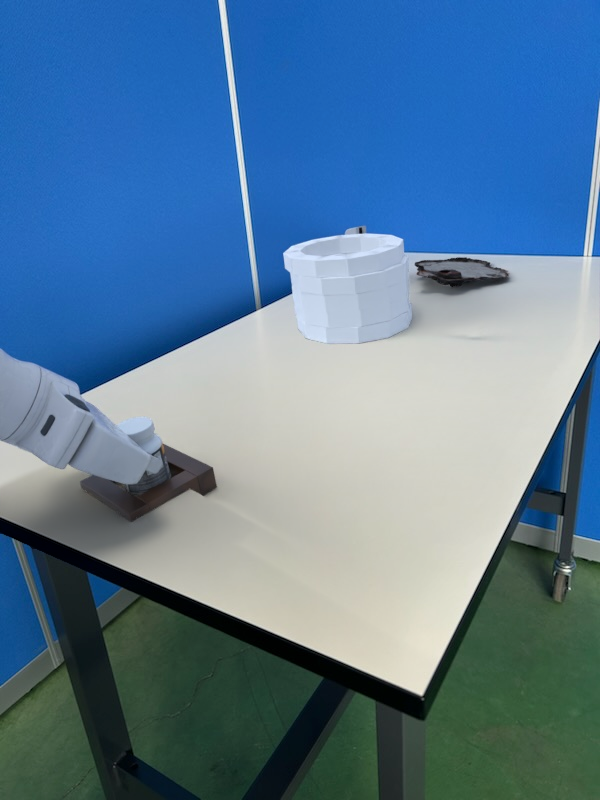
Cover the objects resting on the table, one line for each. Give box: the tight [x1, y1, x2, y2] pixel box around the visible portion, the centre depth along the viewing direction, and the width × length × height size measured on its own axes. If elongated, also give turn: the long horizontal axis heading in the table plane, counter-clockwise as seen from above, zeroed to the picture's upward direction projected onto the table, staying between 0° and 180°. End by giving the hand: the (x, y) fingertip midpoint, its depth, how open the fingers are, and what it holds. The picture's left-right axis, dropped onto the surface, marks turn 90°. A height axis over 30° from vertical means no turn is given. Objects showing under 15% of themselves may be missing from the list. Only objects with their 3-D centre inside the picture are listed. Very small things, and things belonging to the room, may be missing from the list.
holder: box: [79, 443, 218, 523], centre depth 78 cm, size 12×12×3 cm
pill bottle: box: [115, 416, 171, 495], centre depth 76 cm, size 6×6×10 cm
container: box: [282, 232, 413, 345], centre depth 127 cm, size 25×24×16 cm
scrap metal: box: [414, 256, 510, 289], centre depth 151 cm, size 23×4×30 cm
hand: (146, 455), depth 77 cm, fingers closed on pill bottle, 6 cm apart
